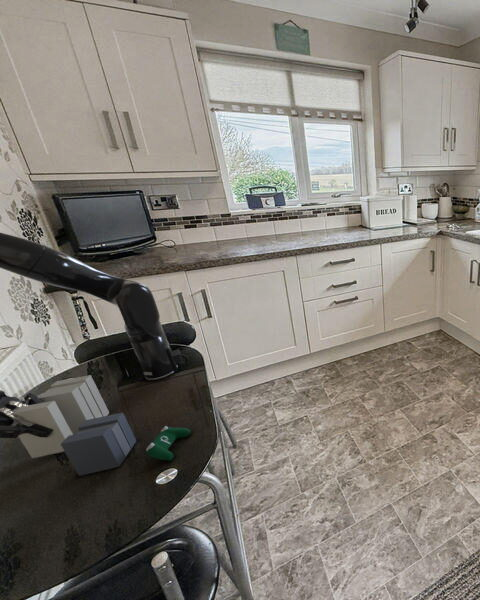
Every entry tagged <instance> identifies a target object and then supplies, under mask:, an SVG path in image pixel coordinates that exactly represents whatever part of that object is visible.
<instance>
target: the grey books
mask: <svg viewBox="0 0 480 600" xmlns="http://www.w3.org/2000/svg"><path fill="white" fill-rule="evenodd" d="M78 429H79V431H78V432H77V433H76V434H74V435H69V436H68V437H67V438H66V439H65V440H64V441H63V442H62V443H61V446H62V448H63V449H64V453H65V455H66V456H67V458H68V460H69V461H70V463H71V465H72V467H73V468H74V470H75V471H76V474H77V475H78V476H79V477H80V476H81V477H82V476H85V475H88V474H89V475H90V474H94V473H97V472H102V471H106V470H110V469H111V470H112V469H114V468H119V467H120V466H121V465H122V463H123V462H124V461H125V459H126V457H127V456H128V454H129V453H130V451H131V450H132V448H133V447H134V445H135V444H136V443H137V439H136V437H135V435H134V433H133V431H132V429H131V427H130V424H129V422H128V420H127V418H126V416H125V413H124V412H119V413H113V414H108V415H107V416H104V417H99V418H94V419H89V420H85V421H84V422H83V423H82V424H81V425H80V426H79V427H78Z"/></svg>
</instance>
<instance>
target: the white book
mask: <svg viewBox="0 0 480 600" xmlns="http://www.w3.org/2000/svg"><path fill="white" fill-rule="evenodd" d="M12 412H14V413H13V414H16V415H19V416H22V417H23V418H24V419H25V420H27V421H30V422H32V423H33V425H34V424H35V423H36V424H39V425H42V426H45V427H48V428H51V429H53V431H52V433H51V434H50V435H49V436H48V437H47V438H45V437H38V436H34V435H31V434H28V433H25V434H21V435H19V436H18V438H19V439H20V441H21V443H22V445H23V446H24V448H25V450H26V451H27V452H28V454H29V456H30V457H31V459H36V458H41V457H45V456H50V455H54V454H55V455H56V454H59V453H63V452H64V453H65V451H64V449H63V448H62V446H61V443H62V442H63V441H64V440H65V439H66V438H67V437H68V436H69V435H73V433H72V432H71V430H70V428H69V426H68V424H67V423H66V421H65V419H64V417H63V415H62V413H61V412H60V410H59V408H58V406H57V404H56V402H55V401H49V402H44V403H39V404H33V405H28V406H23V407H20V408H15V409H14V410H13V411H12ZM19 425H20V424H19ZM20 426H22V425H20Z"/></svg>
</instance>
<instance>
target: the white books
mask: <svg viewBox="0 0 480 600" xmlns="http://www.w3.org/2000/svg"><path fill="white" fill-rule="evenodd" d="M36 396H37V397H38V398H39V399H40V400H41V401H42V402H43V403H44V402H49V401H55V402H56V404H57V406H58V408H59V410H60V412H61V413H62V415H63V417H64V419H65V421H66V423H67V424H68V426H69V428H70V430H71V432H72V433H73V435H74V434H76V433H77V432H78V431H79V429H78V427H79V426H80V425H81V424H82V423H83V422H84V421H85V420H89V419H94V418H99V417H104V416H109V415H110V411H109V408H108V407H107V405H106V402H105V401H104V399H103V396H102V395H101V392H100V391H99V389H98V386H97V385H96V382H95V381H94V379H93V377H92V374H89V375H84V376H77V377H72V378H67V379H62V380H56V381H55V382H54V383H52V384H51V385H50V388H48V389H47V390H46V391H44V392H43V393H40V394H38V395H36Z"/></svg>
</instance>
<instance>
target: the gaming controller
mask: <svg viewBox="0 0 480 600" xmlns="http://www.w3.org/2000/svg"><path fill="white" fill-rule="evenodd" d="M159 432H160V433H158V434H157V436H156V437H155V438H154V439H153V440H152V441H151V443H150V444H149V445H148V446H147V447H146V449H145V453H146V454H147V455H148V456H149V457H151V458H152V459H155V460H160V461H172V460H174V458H175V455H174V454H173V453H172V451H170V450H169V449H170V448H171V446H172V445H173V443H174V442H175V440H177V439H181V438H182V439H183V438H186V437H189V436H190V435H191V430H190V429H189V428H186V427H171V426H167V425H165V426H164V427H163V428H162V429H161V430H160V431H159Z"/></svg>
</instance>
